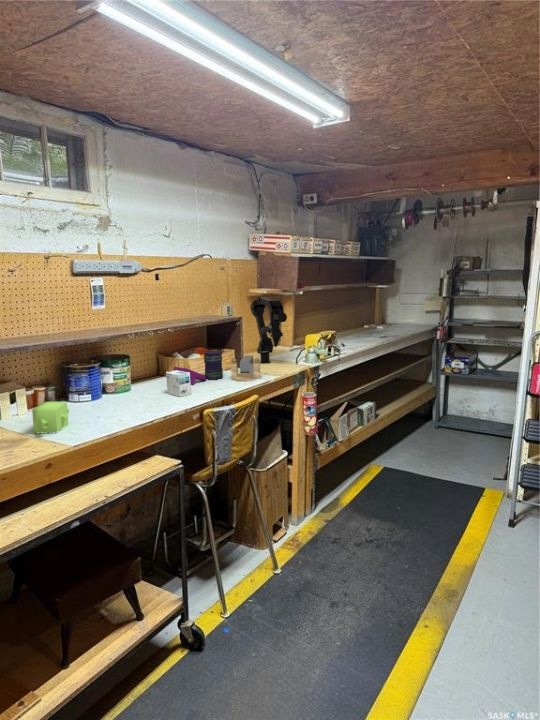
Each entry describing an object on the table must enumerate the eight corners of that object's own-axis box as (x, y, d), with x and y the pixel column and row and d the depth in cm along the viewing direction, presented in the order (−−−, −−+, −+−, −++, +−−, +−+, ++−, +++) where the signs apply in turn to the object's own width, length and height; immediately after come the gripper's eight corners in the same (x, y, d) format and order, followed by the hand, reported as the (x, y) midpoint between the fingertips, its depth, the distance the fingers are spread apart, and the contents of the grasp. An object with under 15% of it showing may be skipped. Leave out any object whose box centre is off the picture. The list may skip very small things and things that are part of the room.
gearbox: (56, 438, 166) (54, 413, 164) (28, 438, 166) (25, 412, 164) (75, 422, 184) (74, 399, 182) (50, 422, 183) (48, 398, 182)
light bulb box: (191, 394, 221) (190, 372, 220) (180, 397, 217) (178, 374, 215) (178, 391, 229) (176, 369, 227) (166, 394, 224) (165, 372, 222)
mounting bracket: (193, 390, 255) (169, 382, 240) (197, 375, 256) (174, 366, 242) (206, 392, 249) (182, 384, 235) (210, 377, 250) (186, 368, 236)
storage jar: (215, 381, 248) (214, 353, 246) (201, 379, 254) (199, 352, 251) (226, 377, 257) (225, 350, 254) (212, 376, 262) (211, 349, 259)
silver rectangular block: (245, 372, 269) (244, 355, 267) (254, 372, 269) (253, 355, 267) (240, 380, 249) (239, 361, 248) (250, 380, 249) (249, 361, 247)
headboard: (232, 379, 252) (231, 357, 250) (260, 378, 251) (259, 357, 249) (230, 381, 247) (229, 359, 245) (259, 381, 245) (258, 359, 243)
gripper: (259, 320, 288) (260, 345, 290) (263, 323, 269) (264, 349, 272) (277, 319, 289) (278, 344, 292) (282, 322, 271) (283, 348, 273)
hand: (275, 346), depth 282 cm, fingers closed
